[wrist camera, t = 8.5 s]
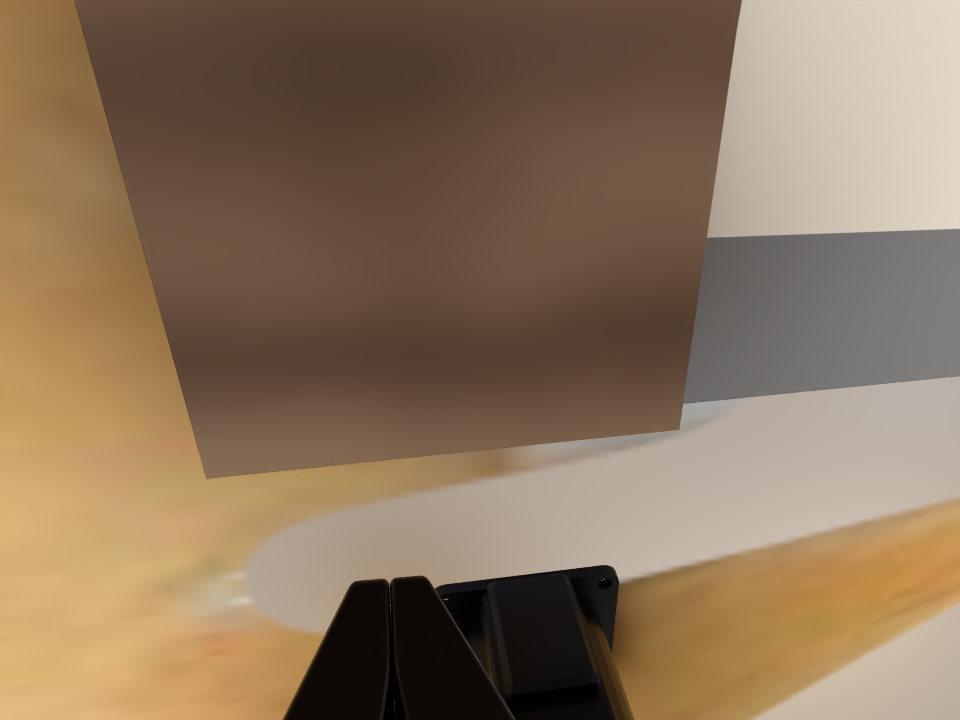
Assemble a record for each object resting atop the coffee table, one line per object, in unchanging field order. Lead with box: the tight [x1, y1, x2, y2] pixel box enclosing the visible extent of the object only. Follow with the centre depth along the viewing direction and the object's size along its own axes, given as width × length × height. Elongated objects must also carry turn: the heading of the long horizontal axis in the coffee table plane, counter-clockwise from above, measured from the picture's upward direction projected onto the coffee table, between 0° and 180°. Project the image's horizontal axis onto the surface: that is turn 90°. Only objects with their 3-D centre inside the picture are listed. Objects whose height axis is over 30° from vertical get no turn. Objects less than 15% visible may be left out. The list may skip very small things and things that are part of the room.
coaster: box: [707, 0, 960, 238], centre depth 16 cm, size 8×8×2 cm
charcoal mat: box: [683, 229, 960, 404], centre depth 18 cm, size 20×13×1 cm, turn 1°
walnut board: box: [74, 0, 741, 479], centre depth 15 cm, size 18×12×3 cm, turn 1°
